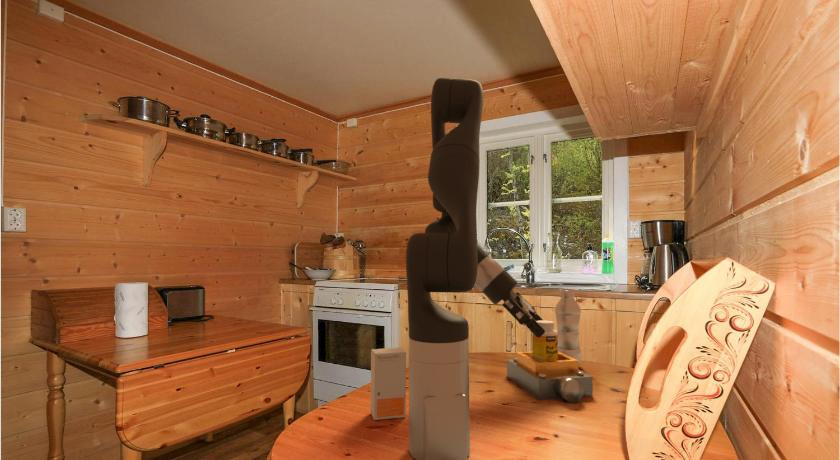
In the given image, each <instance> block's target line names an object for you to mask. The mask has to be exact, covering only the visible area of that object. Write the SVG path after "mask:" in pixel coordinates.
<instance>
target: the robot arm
mask: <svg viewBox="0 0 840 460" xmlns="http://www.w3.org/2000/svg"><path fill="white" fill-rule="evenodd" d="M432 85H433V86H432V90H431V98H430V122H431V123H430V124H431V125H430V126H431V145H432V151H431V153H430V160H429V167H428V173H427V174H428V175H427V180H428V181H427V183H428V185H429V188H430V191H431V192H432V206H433V208H434V209H435V210H436V211H437V212H440V213H441V217H440V218H438V219H436V220H434V221H432V222H430V223H429V224H428V225H426V228H425V229H424V230H425V231H424V232H421V233H420V232H419V233H414V234H412V235H410V238H409V239H408V241H407V243H406V250H405V273H406V288H407V291H406V292H407V320H408V322H407V323H408V431H409V433H408V443H409V444H408V447H409V448H408V452H409V454H410V456H411V457H412V458H413V459H414V460H468V457H469V456H470V453H471V441H470V440H471V436H470V434H471V430H470V429H471V428H470V425H471V424H470V359H469V358H470V350H469V348H470V347H469V346H470V345H469V344H470V342H469V341H470V340H469V338H470V337H469V334H470V333H469V332H470V330H469V328H470V327H469V321H468V320H467V318H466V317H465V316H462V315H460V314H459V313H455V312H452V311H450V310H448V309H445V308H444V307H442V306H441V305H439V304H438V303H436V302H435V300H434V299H433V298H432V296H431V293H447V294H448V293H451V294H452V293H453V294H455V293H457V294H458V293H460V294H461V293H468V292H469V291H471V290H473V289H474V287H475V286H476V288H478V290H479V291H480V292H482V293H483V294H484V295H485V296H486V297H487V299H488V300H490V301H491V303H492V304H493V305H498V304H499V303H500V302H501V301H503V303H502V307H503V308H505V310H506V311H507V312H508V313H509V314H510V315H511V317H513V318H514V319H515V320H516V321H517V322H518V324H519V325H521V326H522V325H523V326H526V328H527V329H529V331H531V334H532V333H533V334H534V335H535V336H536V337H538V338H539V337H541V336H542V335H543V334H544V333H545V330H544V329H543V328H542V327H541V326H540V325H539V324H538V323H537V322H536V321H539V320H544V319H543V318H542V317H541V316H540V315H539V313H537V311H536V309H535V307H534V306H533V305H532V304H531V303H530V302H528V300H527V299H525V298H524V297H523V296H522V294H521V293H520V292H517V291H516V292H515V291H513V290H514V289H515V288H516V286H518V281H517V280H516V279H515V278H514V277H513V276H511V274H510V273H509V272H508V271H507V270H506V269H505V268H504V267H502V265H500V264H499V263H498V261H496V260H495V259H494V258H492V257H491V256H490V255H489V254H488V253H487V252H486V251H485V249H483V248H482V247H481V246H480V245H479V244H478V224H477V207H478V206H477V205H478V204H477V203H478V193H479V192H478V191H479V180H480V132H481V123H482V117H483V107H484V89H483V86H482V84H481V82H480V81H477V80H475V79H473V78H472V79H470V78H456V77H455V78H452V77H449V78H448V77H439V78H437V79H436V80H435V81H434V83H433V84H432ZM449 123H450V124H457V126H455V127H453V129H451V130H450V131H449V132H447V133H446V124H449Z"/></svg>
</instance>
